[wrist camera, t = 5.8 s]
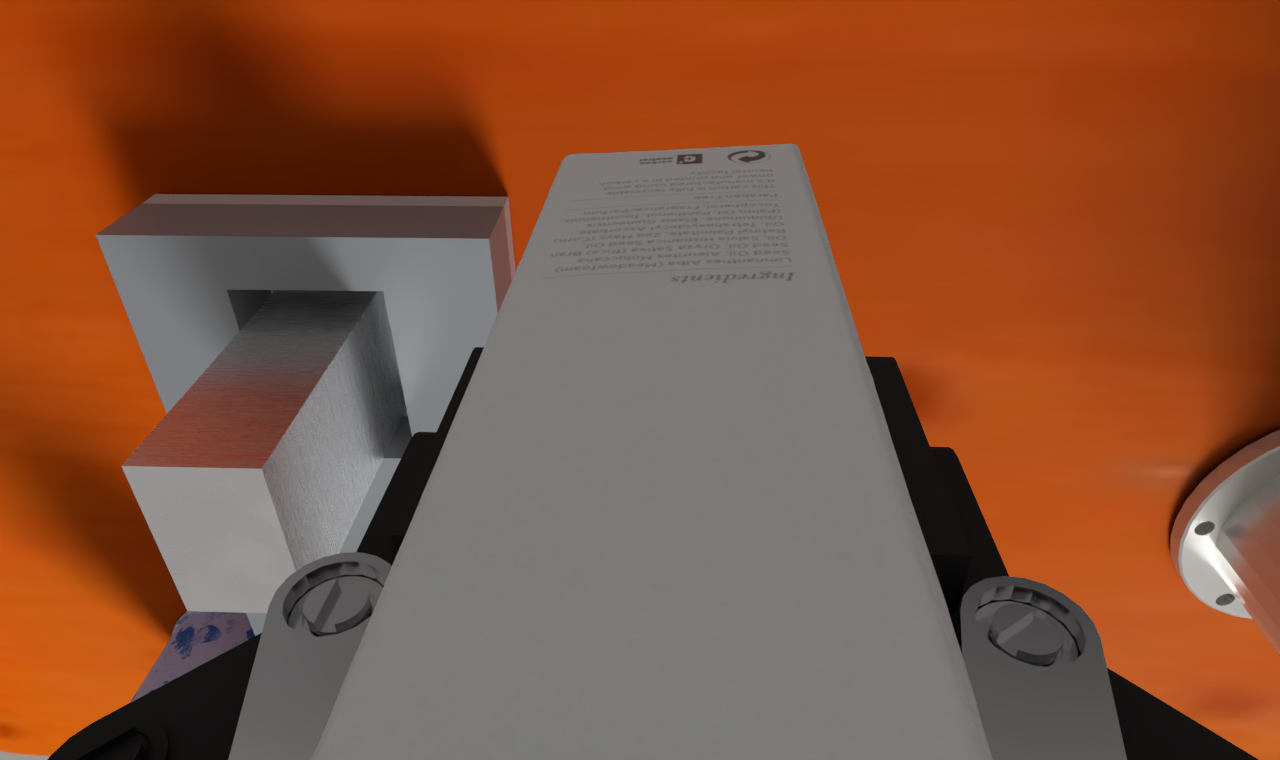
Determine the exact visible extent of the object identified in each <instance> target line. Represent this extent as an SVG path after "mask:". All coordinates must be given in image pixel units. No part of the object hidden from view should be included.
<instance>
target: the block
mask: <svg viewBox="0 0 1280 760" xmlns="http://www.w3.org/2000/svg"><path fill="white" fill-rule="evenodd" d="M406 409H407V408H406V403H405V398H404V393H403V388H402V383H401V378H400V373H399V368H398V363H397V358H396V353H395V348H394V343H393V338H392V333H391V328H390V323H389V318H388V313H387V308H386V303H385V298H384V293H383V291H315V290H275V292H274V293H273V294H272V295H271V296H270V297H269V298H268V300H267V301H266V302H265V303H264V304H263V305H262V306H261V308H260V309H259V310H258V311H257V312H256V313H255V314H254V316H253V317H252V318H251V319H250V320H249V321H248V322H247V323H246V325H245V326H244V327H243V328H242V329H241V330H240V331H239V333H238V334H237V335H236V336H235V337H234V338H233V339H232V341H231V342H230V343H229V344H228V345H227V346H226V347H225V349H224V350H223V351H222V352H221V353H220V354H219V355H218V357H217V358H216V359H215V360H214V361H213V362H212V363H211V364H210V366H209V367H208V368H207V369H206V370H205V371H204V372H203V374H202V375H201V376H200V377H199V378H198V379H197V380H196V382H195V383H194V384H193V385H192V386H191V387H190V388H189V390H188V391H187V392H186V393H185V394H184V395H183V396H182V398H181V399H180V400H179V401H178V402H177V403H176V404H175V405H174V407H173V408H172V409H171V410H170V411H169V412H168V413H167V415H166V416H165V417H164V418H163V419H162V420H161V421H160V423H159V424H158V425H157V426H156V427H155V428H154V429H153V431H152V432H151V433H150V434H149V435H148V436H147V437H146V438H145V440H144V441H143V442H142V443H141V444H140V445H139V446H138V448H137V449H136V450H135V451H134V452H133V453H132V454H131V456H130V457H129V458H128V459H127V460H126V461H125V462H124V464H123V465H122V466H121V467H122V469H123V471H124V473H125V475H126V478H127V480H128V482H129V484H130V486H131V489H132V491H133V493H134V495H135V497H136V499H137V502H138V504H139V506H140V508H141V510H142V513H143V515H144V517H145V519H146V521H147V524H148V526H149V528H150V530H151V532H152V535H153V537H154V539H155V541H156V543H157V546H158V548H159V550H160V552H161V554H162V557H163V559H164V561H165V563H166V565H167V568H168V570H169V572H170V574H171V576H172V579H173V581H174V583H175V585H176V587H177V590H178V592H179V594H180V596H181V598H182V601H183V603H184V605H185V607H186V609H187V611H197V612H237V613H267V611H268V607H269V604H270V602H271V600H272V598H273V596H274V594H275V592H276V590H277V589H278V588H279V587H280V586H281V584H282V583H283V582H284V581H285V580H286V579H287V578H288V577H289V576H290V575H292V574H293V573H294V572H296V571H297V570H299V569H300V568H301V567H303V566H304V565H306V564H309V563H311V562H313V561H315V560H318V559H320V558H322V557H326V556H330V555H335V554H339V552H340V550H341V548H342V546H343V544H344V541H345V539H346V537H347V535H348V533H349V531H350V529H351V526H352V524H353V522H354V520H355V518H356V516H357V514H358V512H359V509H360V507H361V505H362V503H363V501H364V499H365V497H366V494H367V492H368V490H369V488H370V486H371V484H372V482H373V479H374V477H375V475H376V473H377V471H378V469H379V467H380V465H381V462H382V460H383V458H384V456H385V454H386V452H387V450H388V447H389V445H390V443H391V441H392V439H393V437H394V435H395V433H396V430H397V428H398V426H399V424H400V422H401V420H402V418H403V415H404V413H405V411H406Z"/></svg>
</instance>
